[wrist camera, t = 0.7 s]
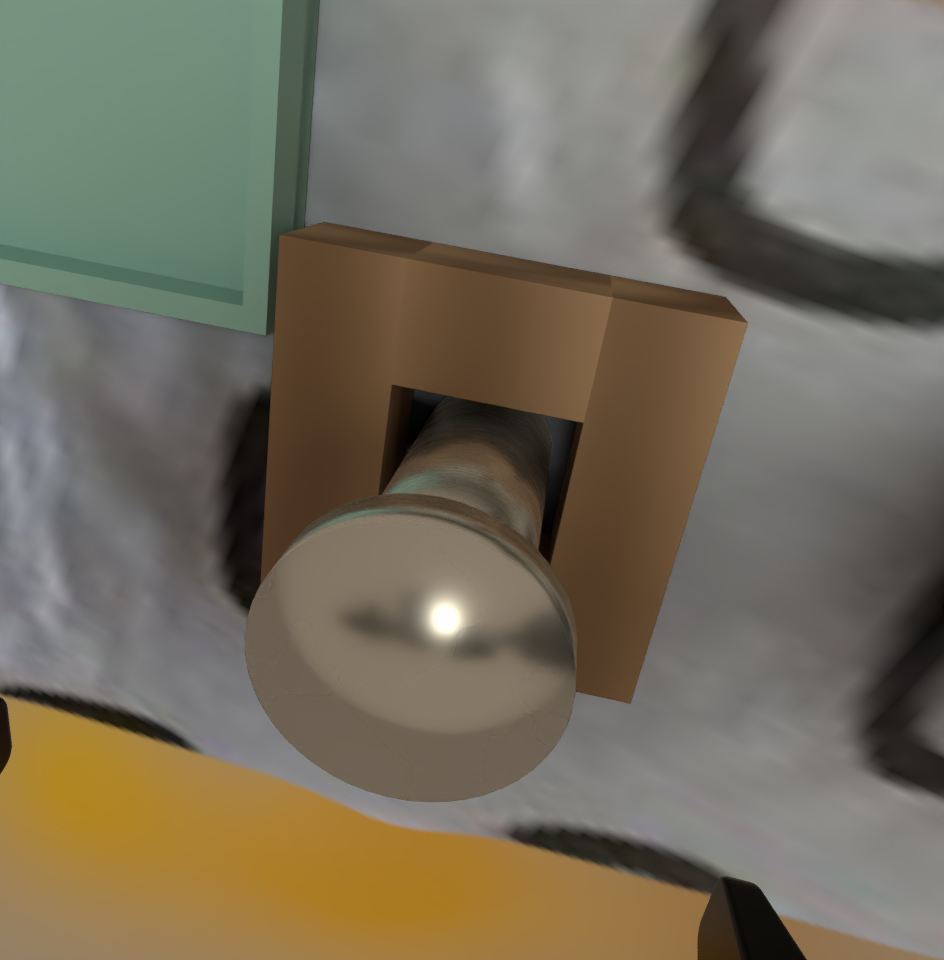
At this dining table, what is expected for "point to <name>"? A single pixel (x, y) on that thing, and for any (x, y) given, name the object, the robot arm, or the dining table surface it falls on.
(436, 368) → the block
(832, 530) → the dining table surface
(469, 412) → the steel pin
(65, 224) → the tray
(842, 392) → the dining table surface
